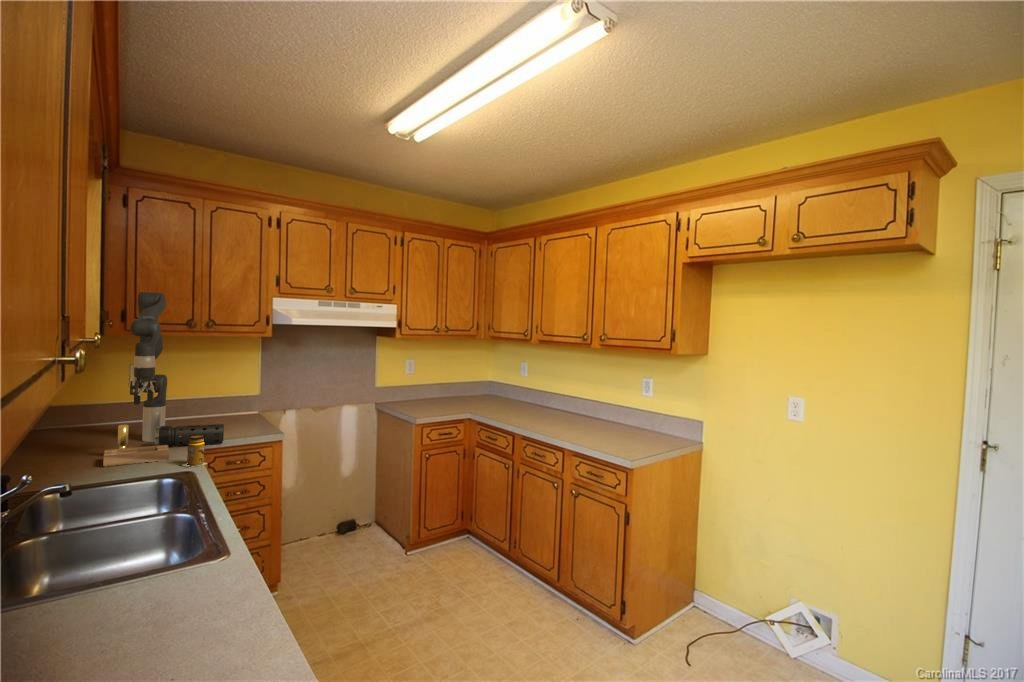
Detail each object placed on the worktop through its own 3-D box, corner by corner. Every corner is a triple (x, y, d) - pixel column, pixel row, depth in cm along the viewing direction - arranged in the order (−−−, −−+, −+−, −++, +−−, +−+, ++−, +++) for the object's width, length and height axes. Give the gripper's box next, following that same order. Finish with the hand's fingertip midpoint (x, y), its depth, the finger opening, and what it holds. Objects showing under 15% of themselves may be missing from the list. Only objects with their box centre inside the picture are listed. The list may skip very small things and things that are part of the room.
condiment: (208, 463, 212) (209, 436, 212) (187, 468, 204) (188, 439, 204) (198, 461, 215) (199, 434, 215) (177, 465, 208) (178, 437, 208)
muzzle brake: (222, 445, 244) (223, 425, 244) (153, 450, 230) (154, 428, 230) (223, 441, 252) (224, 421, 252) (156, 445, 238) (157, 424, 238)
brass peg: (115, 456, 217) (116, 424, 217) (129, 454, 220) (130, 423, 220) (115, 458, 213) (116, 426, 213) (129, 457, 216) (130, 425, 216)
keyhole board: (104, 460, 210) (104, 450, 209) (167, 454, 223) (167, 444, 223) (103, 467, 200) (103, 456, 200) (168, 460, 214) (169, 450, 214)
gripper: (146, 364, 222) (145, 399, 222) (124, 367, 207) (123, 405, 208) (164, 365, 222) (162, 400, 223) (142, 368, 208) (141, 405, 209)
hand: (143, 402), depth 215 cm, fingers open, 8 cm apart
